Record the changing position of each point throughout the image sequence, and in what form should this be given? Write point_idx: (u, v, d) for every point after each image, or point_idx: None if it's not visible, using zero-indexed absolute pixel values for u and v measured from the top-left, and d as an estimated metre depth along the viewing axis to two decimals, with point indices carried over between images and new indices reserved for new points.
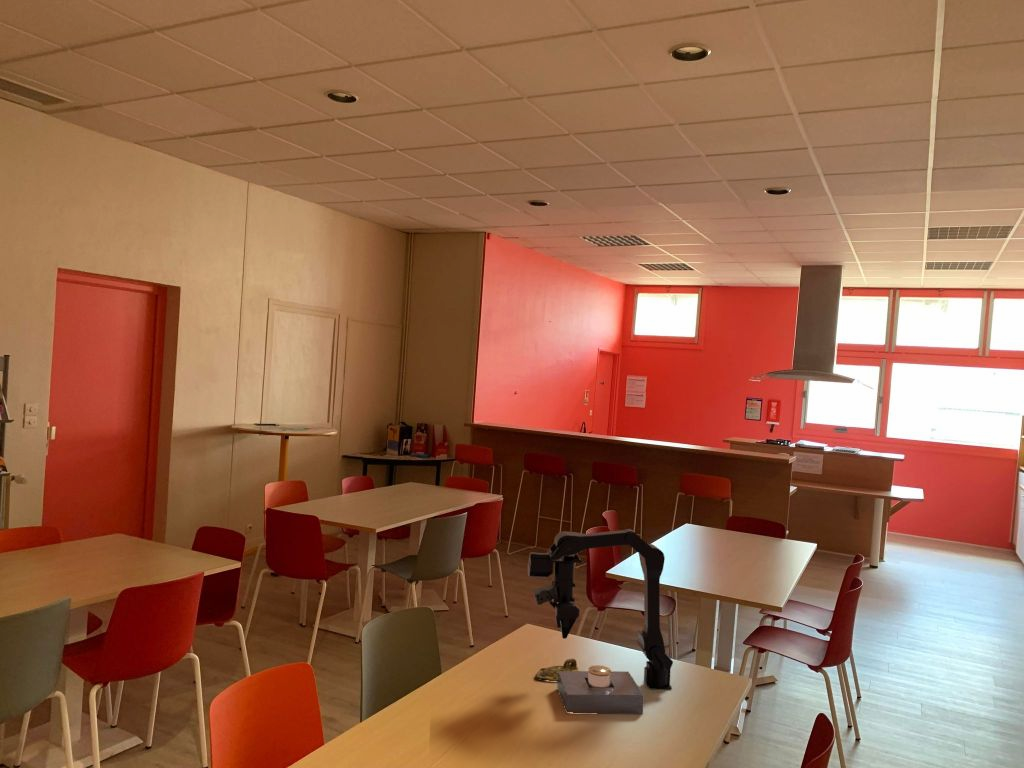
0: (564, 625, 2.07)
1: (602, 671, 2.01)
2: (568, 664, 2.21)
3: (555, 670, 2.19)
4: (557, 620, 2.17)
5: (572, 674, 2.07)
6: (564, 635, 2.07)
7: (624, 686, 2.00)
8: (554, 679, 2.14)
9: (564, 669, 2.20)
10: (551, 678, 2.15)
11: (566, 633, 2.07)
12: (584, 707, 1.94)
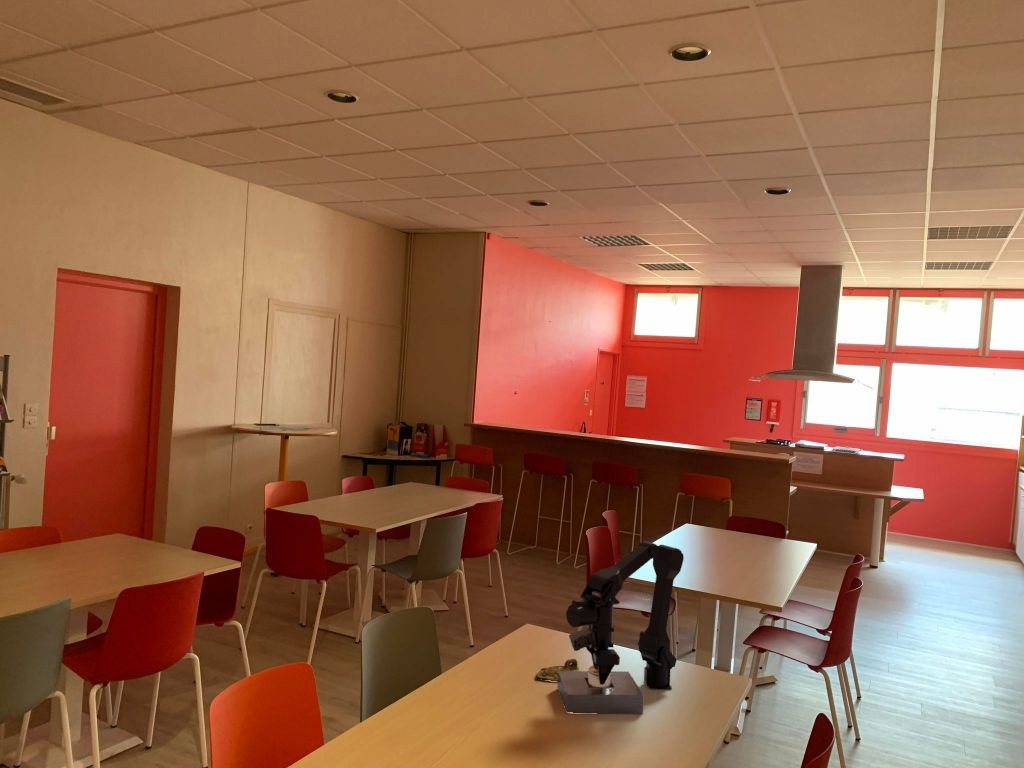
0: (602, 671, 1.98)
1: None
2: (569, 664, 2.21)
3: (556, 670, 2.19)
4: None
5: (572, 674, 2.07)
6: (601, 681, 1.99)
7: (624, 686, 2.00)
8: (554, 679, 2.14)
9: (565, 669, 2.20)
10: (551, 678, 2.15)
11: (604, 679, 1.99)
12: (584, 707, 1.94)
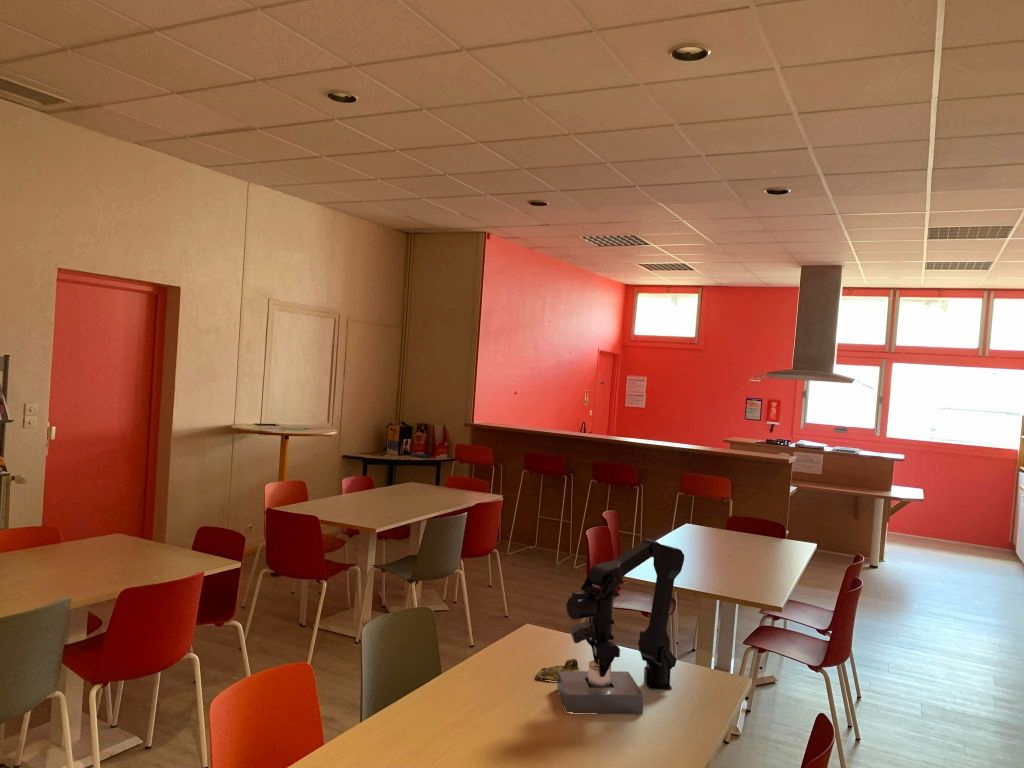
0: (602, 663, 1.98)
1: None
2: (569, 664, 2.21)
3: (556, 670, 2.19)
4: None
5: (572, 674, 2.07)
6: (602, 673, 1.99)
7: (624, 686, 2.00)
8: (555, 679, 2.14)
9: (565, 669, 2.20)
10: (552, 678, 2.15)
11: (604, 671, 1.99)
12: (584, 707, 1.94)
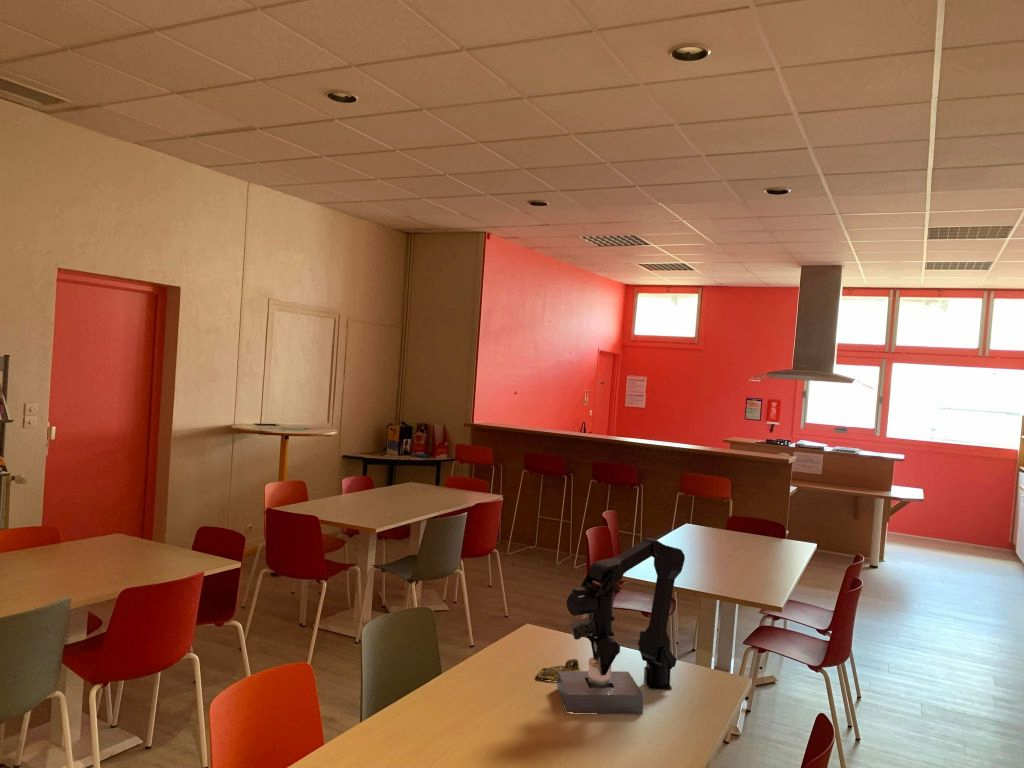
0: (603, 661, 1.97)
1: None
2: (570, 664, 2.21)
3: (556, 670, 2.19)
4: (594, 654, 2.07)
5: (572, 674, 2.07)
6: (603, 672, 1.97)
7: (624, 686, 2.00)
8: (555, 679, 2.14)
9: (566, 669, 2.20)
10: (552, 678, 2.15)
11: (605, 670, 1.97)
12: (584, 707, 1.94)
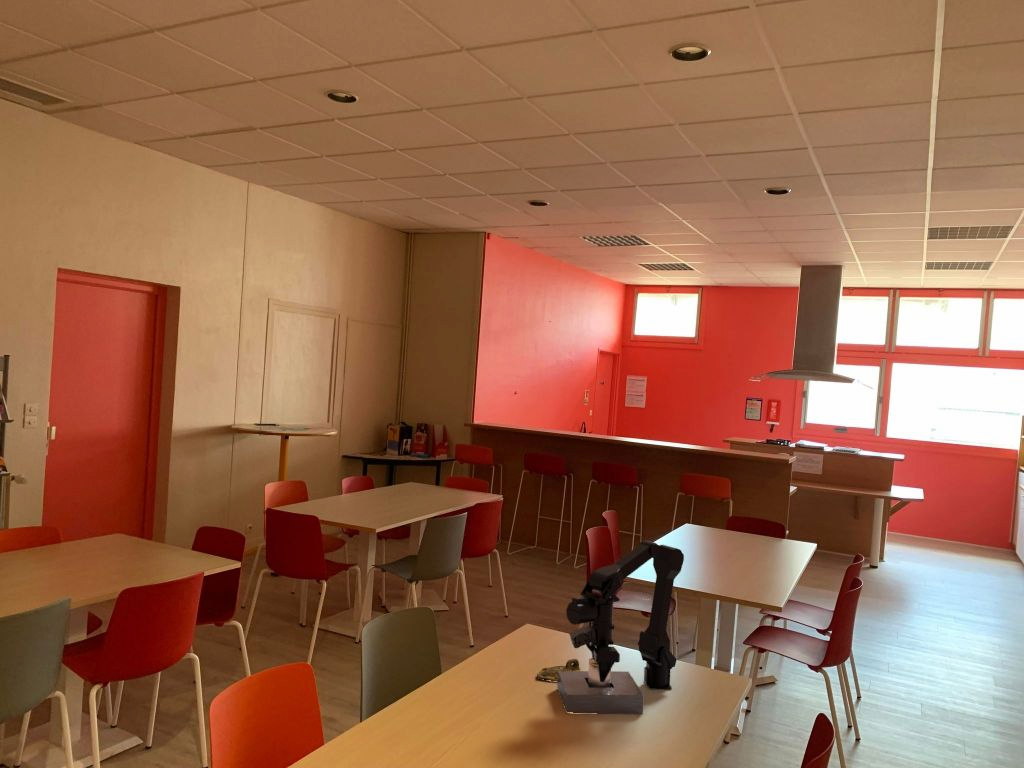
0: (602, 668, 1.98)
1: None
2: (570, 664, 2.21)
3: (557, 670, 2.19)
4: None
5: (572, 674, 2.07)
6: (601, 678, 1.99)
7: (624, 686, 2.00)
8: (555, 679, 2.14)
9: (566, 669, 2.20)
10: (552, 678, 2.15)
11: (604, 676, 1.99)
12: (584, 707, 1.94)
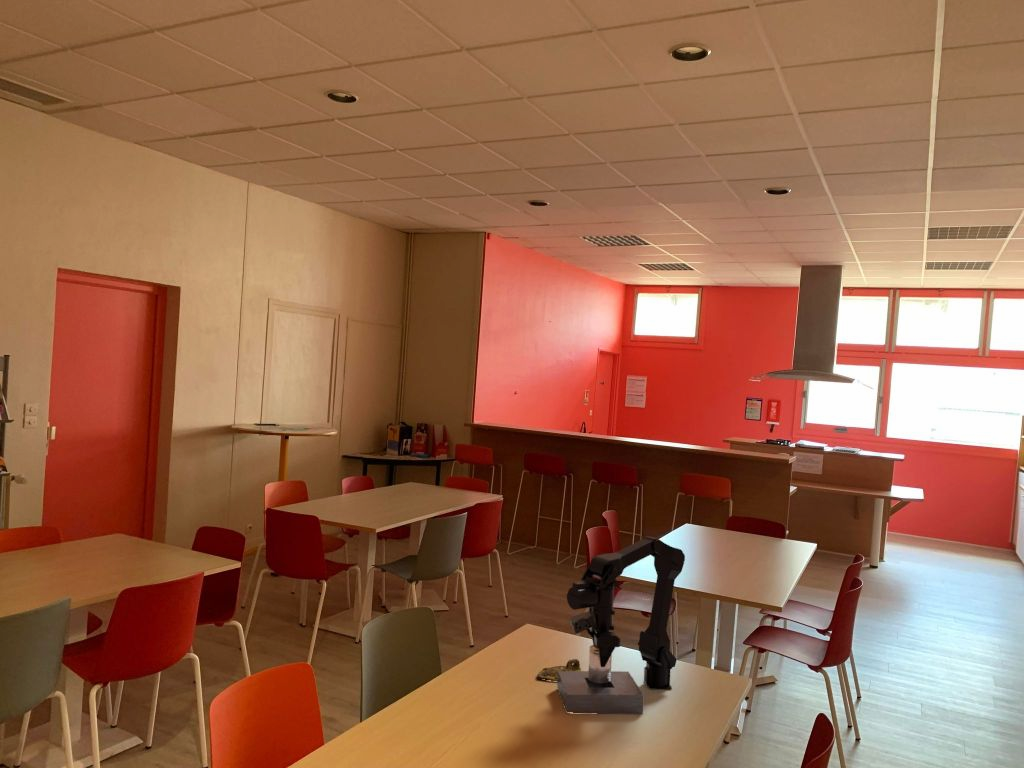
0: (602, 653, 1.98)
1: None
2: (571, 664, 2.21)
3: (557, 670, 2.19)
4: None
5: (572, 674, 2.07)
6: (602, 663, 1.99)
7: (624, 686, 2.00)
8: (555, 679, 2.14)
9: (566, 669, 2.20)
10: (552, 678, 2.15)
11: (604, 661, 1.99)
12: (584, 707, 1.94)
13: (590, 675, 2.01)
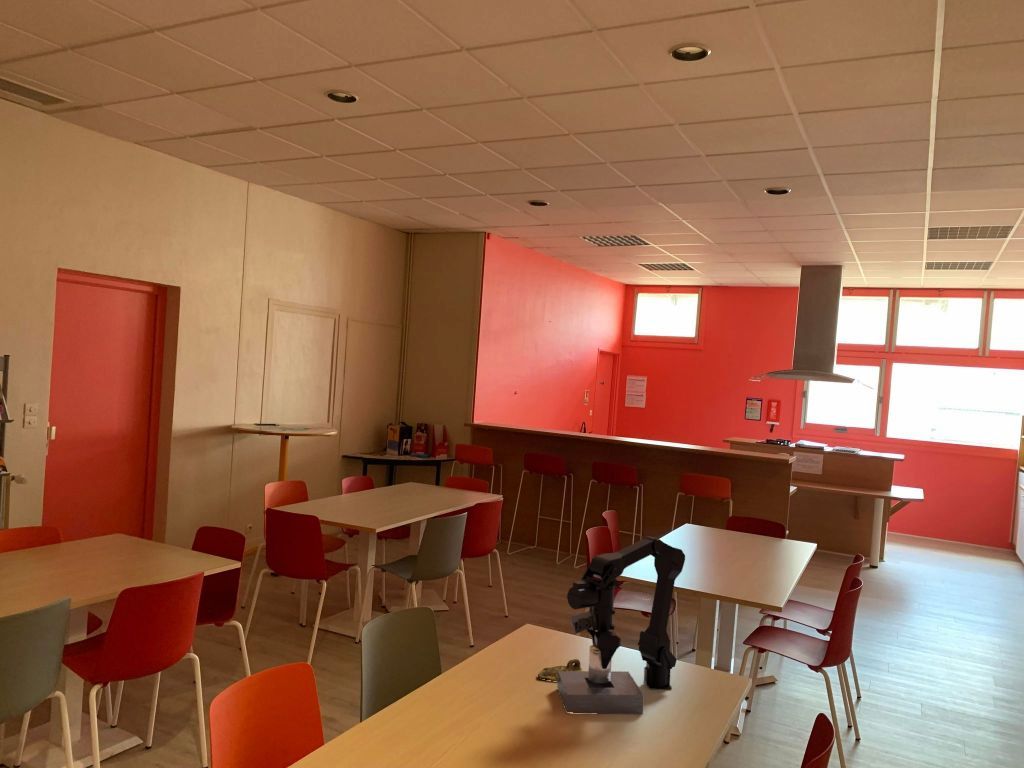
0: (604, 655, 1.97)
1: None
2: (571, 664, 2.21)
3: (558, 670, 2.19)
4: None
5: (572, 674, 2.07)
6: (603, 665, 1.97)
7: (624, 686, 2.00)
8: (556, 679, 2.14)
9: (567, 669, 2.20)
10: (553, 678, 2.15)
11: (606, 663, 1.97)
12: (584, 707, 1.94)
13: (590, 675, 2.01)
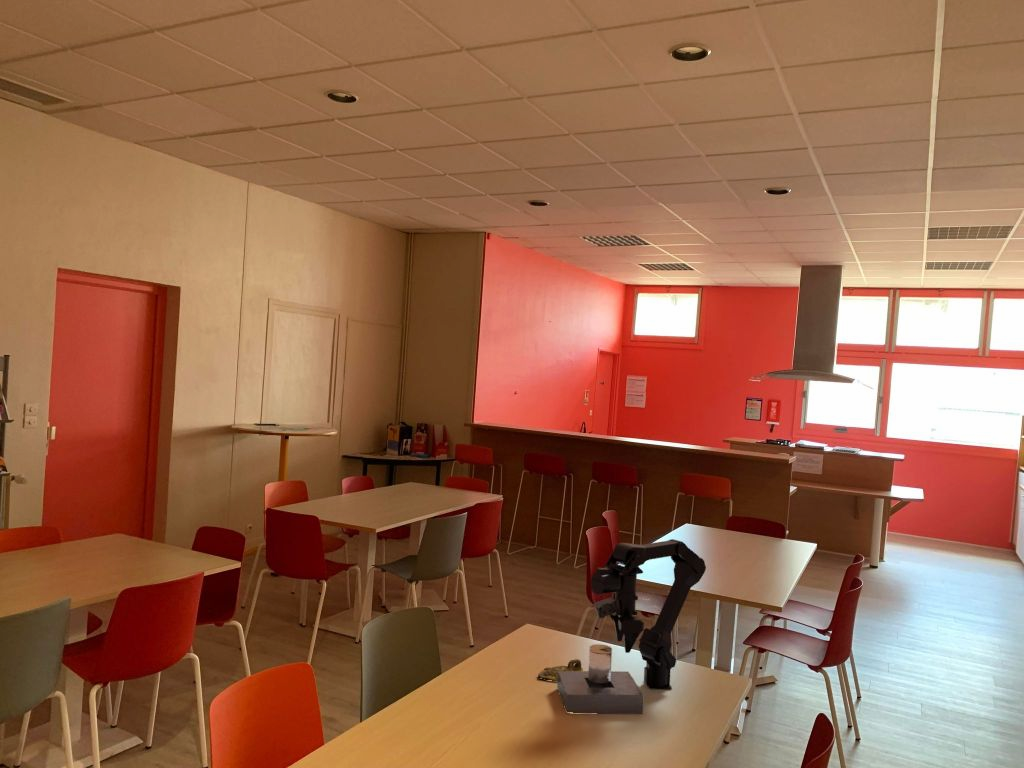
0: (627, 639, 2.02)
1: (603, 649, 2.01)
2: (572, 664, 2.20)
3: (559, 670, 2.19)
4: (617, 633, 2.12)
5: (572, 674, 2.07)
6: (627, 649, 2.03)
7: (624, 686, 2.00)
8: (556, 679, 2.14)
9: (568, 669, 2.19)
10: (553, 678, 2.15)
11: (629, 647, 2.03)
12: (584, 707, 1.94)
13: (590, 675, 2.01)
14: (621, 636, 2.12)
